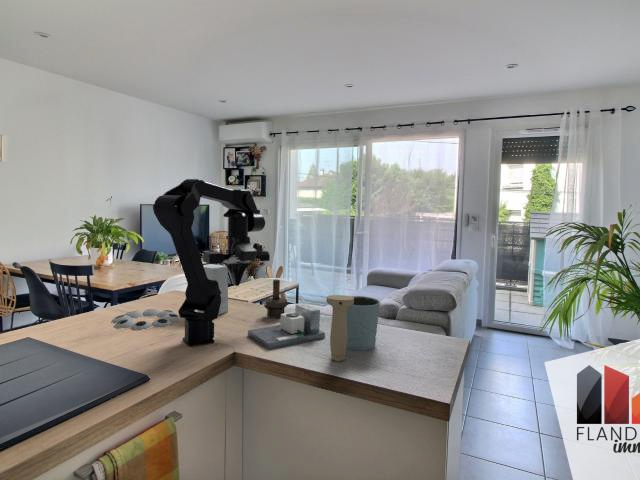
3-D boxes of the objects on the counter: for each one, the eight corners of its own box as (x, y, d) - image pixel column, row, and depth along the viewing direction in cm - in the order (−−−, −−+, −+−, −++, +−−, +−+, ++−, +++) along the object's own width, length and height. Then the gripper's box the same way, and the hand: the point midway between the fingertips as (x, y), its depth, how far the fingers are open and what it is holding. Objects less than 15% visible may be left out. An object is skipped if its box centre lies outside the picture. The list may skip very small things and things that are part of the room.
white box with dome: (296, 336, 104) (296, 320, 103) (280, 327, 110) (280, 313, 110) (313, 333, 107) (313, 318, 106) (296, 325, 114) (297, 310, 113)
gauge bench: (268, 349, 98) (269, 320, 98) (247, 335, 108) (248, 308, 107) (324, 337, 108) (325, 311, 108) (301, 326, 118) (301, 301, 117)
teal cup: (380, 341, 107) (382, 298, 106) (375, 354, 98) (377, 306, 97) (343, 336, 110) (345, 294, 109) (335, 348, 100) (337, 302, 99)
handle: (351, 364, 91) (354, 300, 90) (324, 362, 91) (326, 299, 90) (350, 356, 96) (353, 295, 94) (324, 355, 96) (326, 294, 95)
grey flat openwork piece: (194, 320, 122) (194, 314, 121) (134, 336, 105) (134, 329, 105) (156, 309, 132) (156, 303, 132) (97, 322, 116) (96, 315, 116)
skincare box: (228, 312, 130) (229, 266, 129) (213, 316, 125) (214, 268, 123) (211, 308, 135) (211, 263, 133) (195, 312, 129) (196, 265, 128)
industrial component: (287, 313, 132) (288, 278, 131) (287, 319, 125) (288, 282, 124) (259, 313, 131) (260, 277, 130) (258, 319, 124) (258, 281, 123)
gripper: (217, 235, 102) (216, 294, 104) (279, 234, 113) (278, 287, 114) (202, 232, 111) (202, 286, 113) (261, 231, 122) (260, 281, 123)
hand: (236, 285), depth 116 cm, fingers closed
